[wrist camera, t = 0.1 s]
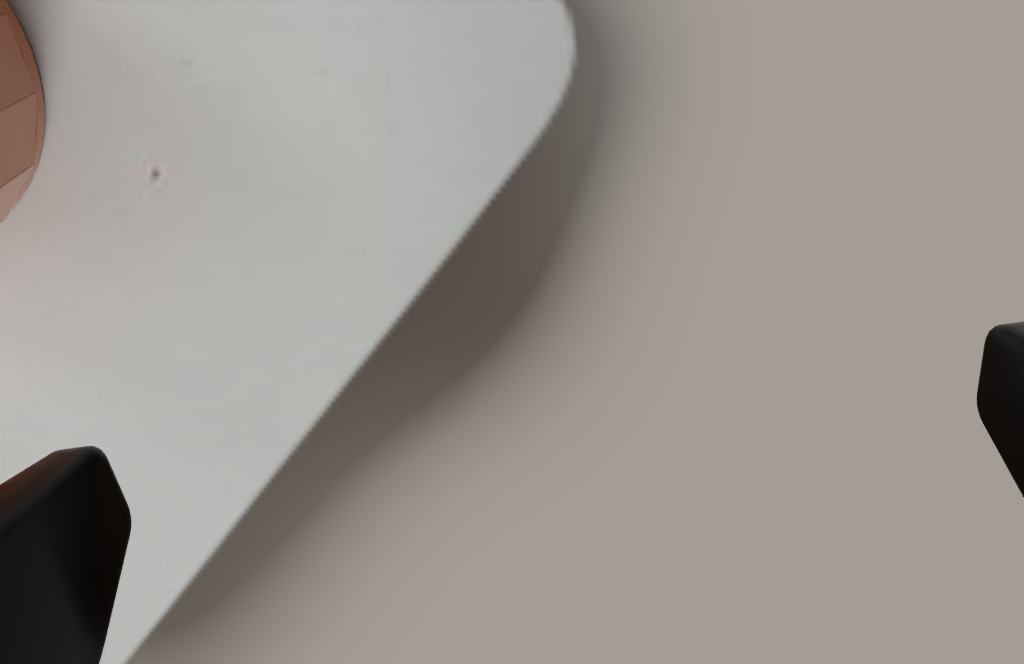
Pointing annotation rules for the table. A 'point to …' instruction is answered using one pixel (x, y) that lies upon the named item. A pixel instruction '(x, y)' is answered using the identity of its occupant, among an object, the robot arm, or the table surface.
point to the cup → (18, 111)
